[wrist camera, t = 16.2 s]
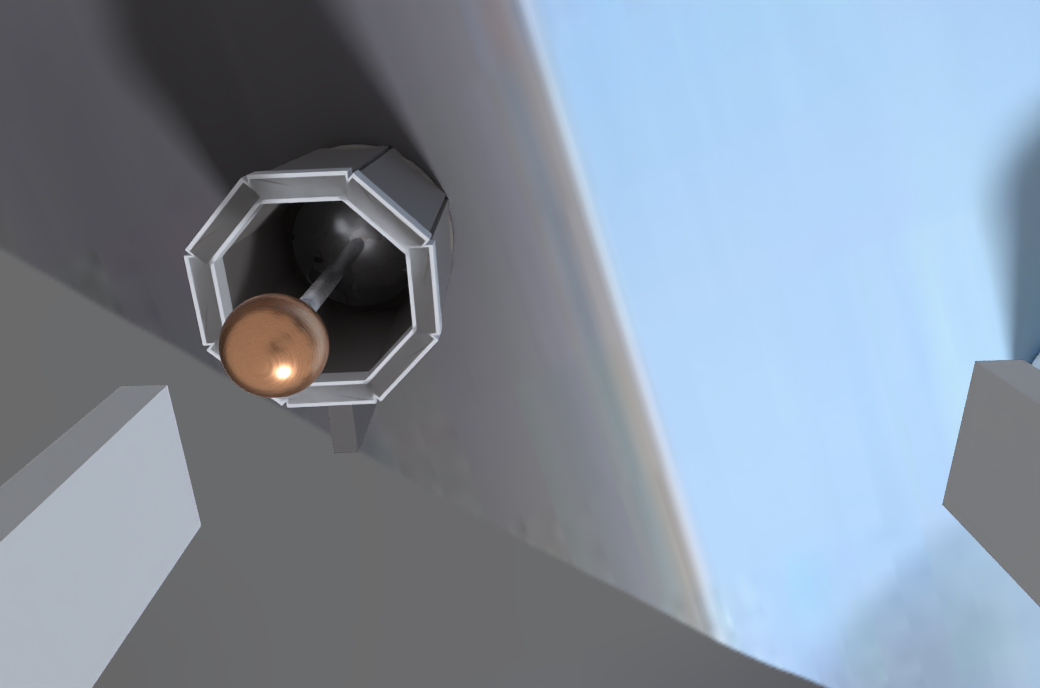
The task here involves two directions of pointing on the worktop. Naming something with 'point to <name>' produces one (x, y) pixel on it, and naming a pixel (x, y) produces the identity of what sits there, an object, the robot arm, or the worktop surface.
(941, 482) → the worktop surface
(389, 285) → the copper ball knob
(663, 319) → the worktop surface
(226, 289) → the grey octagonal tube
